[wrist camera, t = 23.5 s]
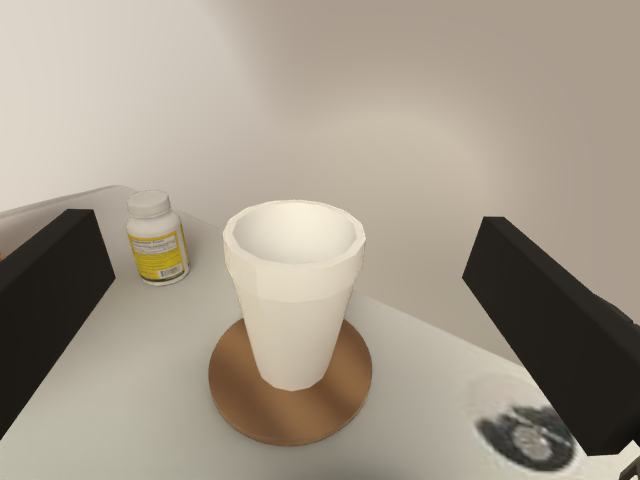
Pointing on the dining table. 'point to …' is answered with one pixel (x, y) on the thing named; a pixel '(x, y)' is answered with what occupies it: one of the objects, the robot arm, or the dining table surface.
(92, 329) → the dining table surface
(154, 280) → the supplement bottle
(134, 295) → the dining table surface
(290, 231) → the foam cup
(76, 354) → the dining table surface
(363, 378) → the wooden coaster
